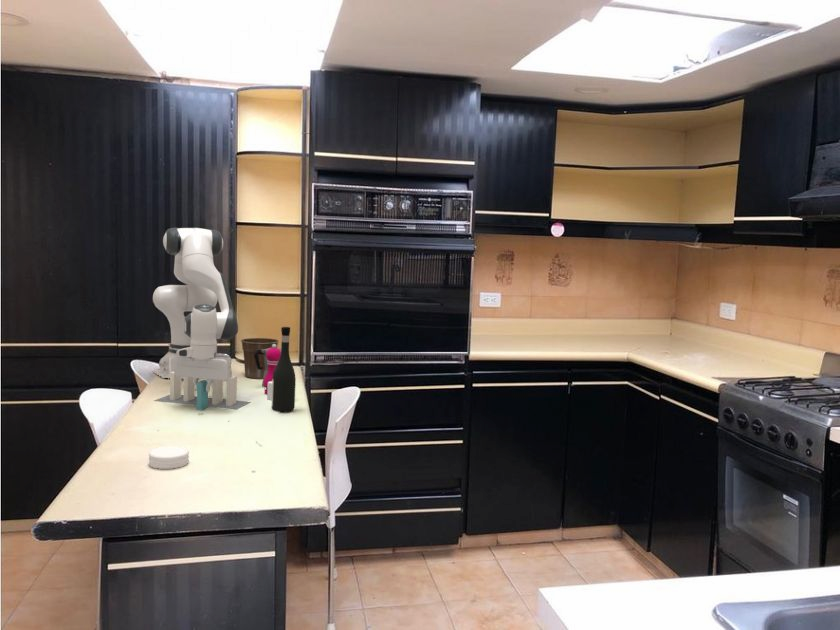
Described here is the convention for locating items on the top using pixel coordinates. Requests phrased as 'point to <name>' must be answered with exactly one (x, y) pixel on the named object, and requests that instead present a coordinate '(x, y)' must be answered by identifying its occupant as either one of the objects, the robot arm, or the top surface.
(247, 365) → the plant pot
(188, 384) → the ivory domino
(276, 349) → the pepper mill
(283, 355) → the wine bottle
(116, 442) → the top surface
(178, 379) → the ivory domino
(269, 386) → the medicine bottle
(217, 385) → the ivory domino
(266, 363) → the coffeepot
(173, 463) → the coaster
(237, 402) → the slate mat
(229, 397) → the ivory domino
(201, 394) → the teal domino
